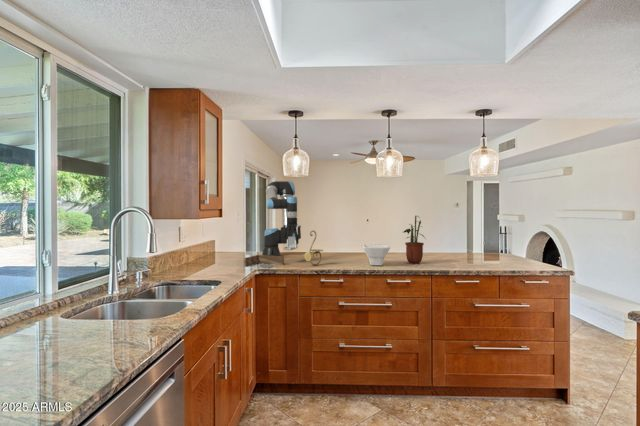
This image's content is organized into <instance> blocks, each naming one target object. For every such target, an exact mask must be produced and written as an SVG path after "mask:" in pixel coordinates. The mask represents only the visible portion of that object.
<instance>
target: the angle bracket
mask: <svg viewBox="0 0 640 426" xmlns="http://www.w3.org/2000/svg"><path fill="white" fill-rule="evenodd" d="M295 240H296V238H295V237H291V236H289V237H288V247H287V246H285V247H283V251H293V250H296V249H295Z"/></svg>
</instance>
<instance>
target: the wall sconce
mask: <svg viewBox="0 0 640 426" xmlns="http://www.w3.org/2000/svg"><path fill="white" fill-rule="evenodd" d="M312 233H314V234H312ZM309 235H310V237H313V236H314V239H313V240H312V243H311V244H310V247H309V251H306V252H305V253H304V260H306V262H309V263H310V264H311V265H312V266H317V265H319V264H320V263H321V261H322V254H321V252H324V251H325V250H324V249H321V248H320V249H318V248H317V249H316V248H314V249H312V248H313V245H314V243H315V241H316V239H317V232H316V231H315V230H311V231H310V232H309ZM311 252H314V253H311ZM318 254H319V260H318V262H316V263H313V262H312V258H313V259H317V257H318Z"/></svg>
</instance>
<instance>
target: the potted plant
mask: <svg viewBox="0 0 640 426" xmlns="http://www.w3.org/2000/svg"><path fill="white" fill-rule="evenodd" d="M417 218H419V221H417ZM417 222H418V224H417ZM421 223H422V221H421V217H420V216H419V215H414V226H413V224H412V223H409V225H410V228H407V229H405V230H404V231H402V233H407V235H409V233H410V236H407V237H406V239H408V238H409V239H410V240H409V241H407V242H405V243H404V244H405V248H406V249H405V253H406V255H405V256H406V260H407V262H408V263H409V264H411V263H412V264H413V265H418V264H420V263H421V262H422V260H423V255H424V254H423V253H424V244H425V243H424V242H419V241H418V238H419V235H420V236H422V237H423V238H424V239H426V237H425V236H424V235H423V234H422V233H419V231H420V227H422V228H423V226H422V225H421ZM417 225H418V226H417Z"/></svg>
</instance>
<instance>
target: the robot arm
mask: <svg viewBox="0 0 640 426" xmlns="http://www.w3.org/2000/svg"><path fill="white" fill-rule="evenodd" d="M265 193H266V195H267V199H266V208H267V209H268V210H281V217H282V220H281V223H282V226H281V227H280V229H279V227H276V228H275V227H273V228H269V229H268V228H267V229H265V230H264V235H263V236H264V237H263V238H264V245H263V246H264V247H263V251H262V254H261V255H269V256H282V255H281V251H280V247H279V245H281V244H283V245H285V244H286V247H288V237H289V236H291V237H295V238H296V240H295V249H294V250H296V249H298V246H299V245H298V244H299V240H300V239H301V238H302V236H301V235H302V233H301V227H302V226H301V225H299V224H298V198H297V196H294V195H296V188H295V183H294V182H293V181H291V180H289V181H288V180H287V181H285V180H284V181H283V180H282V181H280V180H279V181H277V180H275V181H272V182H270V183H269V184H267V186H266V187H265ZM278 196H279V197H278Z"/></svg>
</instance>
